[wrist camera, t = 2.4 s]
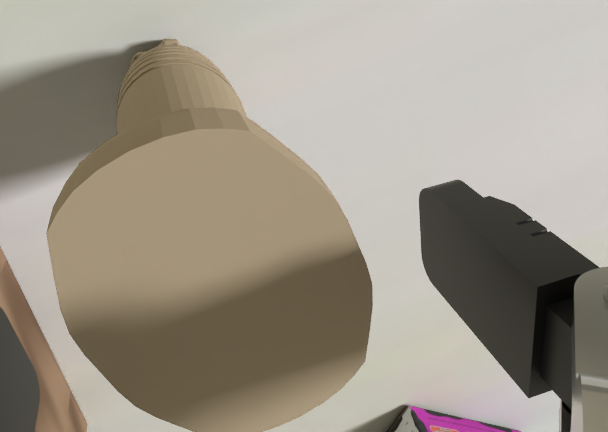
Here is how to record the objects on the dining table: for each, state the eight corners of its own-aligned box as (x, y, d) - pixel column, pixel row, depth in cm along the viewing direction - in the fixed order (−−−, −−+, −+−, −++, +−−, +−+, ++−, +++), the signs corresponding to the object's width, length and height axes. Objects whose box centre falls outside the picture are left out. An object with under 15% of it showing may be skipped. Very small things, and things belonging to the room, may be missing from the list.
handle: (156, 172, 24) (192, 472, 11) (66, 29, 20) (-30, 230, 8) (258, 120, 24) (407, 359, 11) (186, -29, 21) (284, 74, 8)
